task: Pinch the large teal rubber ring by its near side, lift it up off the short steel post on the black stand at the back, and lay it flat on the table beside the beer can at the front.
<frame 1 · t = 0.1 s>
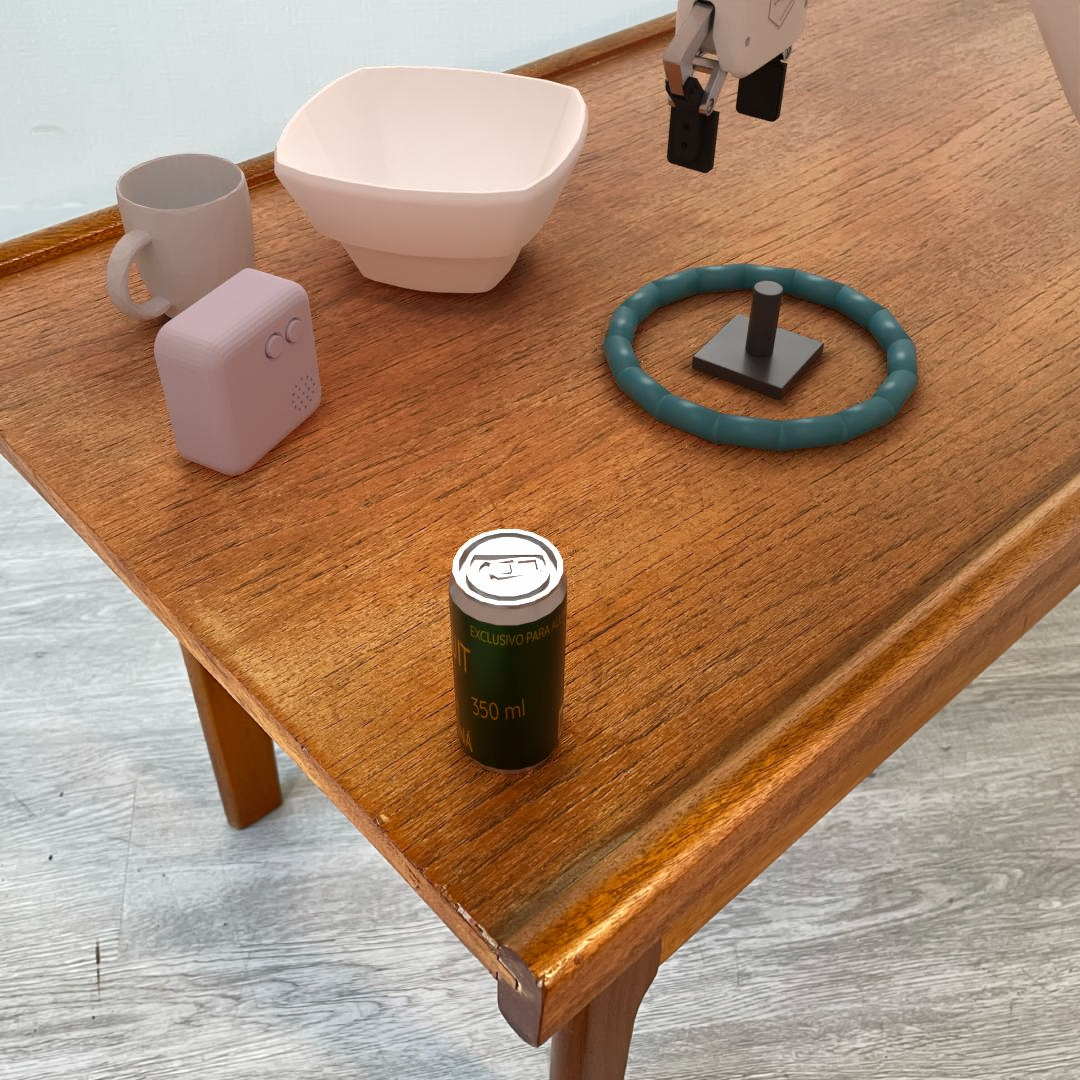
hand: (724, 140, 82), 14 cm above the table, tool pointing down, fingers open, 9 cm apart
mug: (189, 316, 91), on the table
electronic device: (260, 439, 80), on the table
post: (757, 361, 87), on the table
bowl: (443, 266, 97), on the table
beer can: (510, 738, 62), on the table
ring: (759, 349, 86), point 1 cm above the table
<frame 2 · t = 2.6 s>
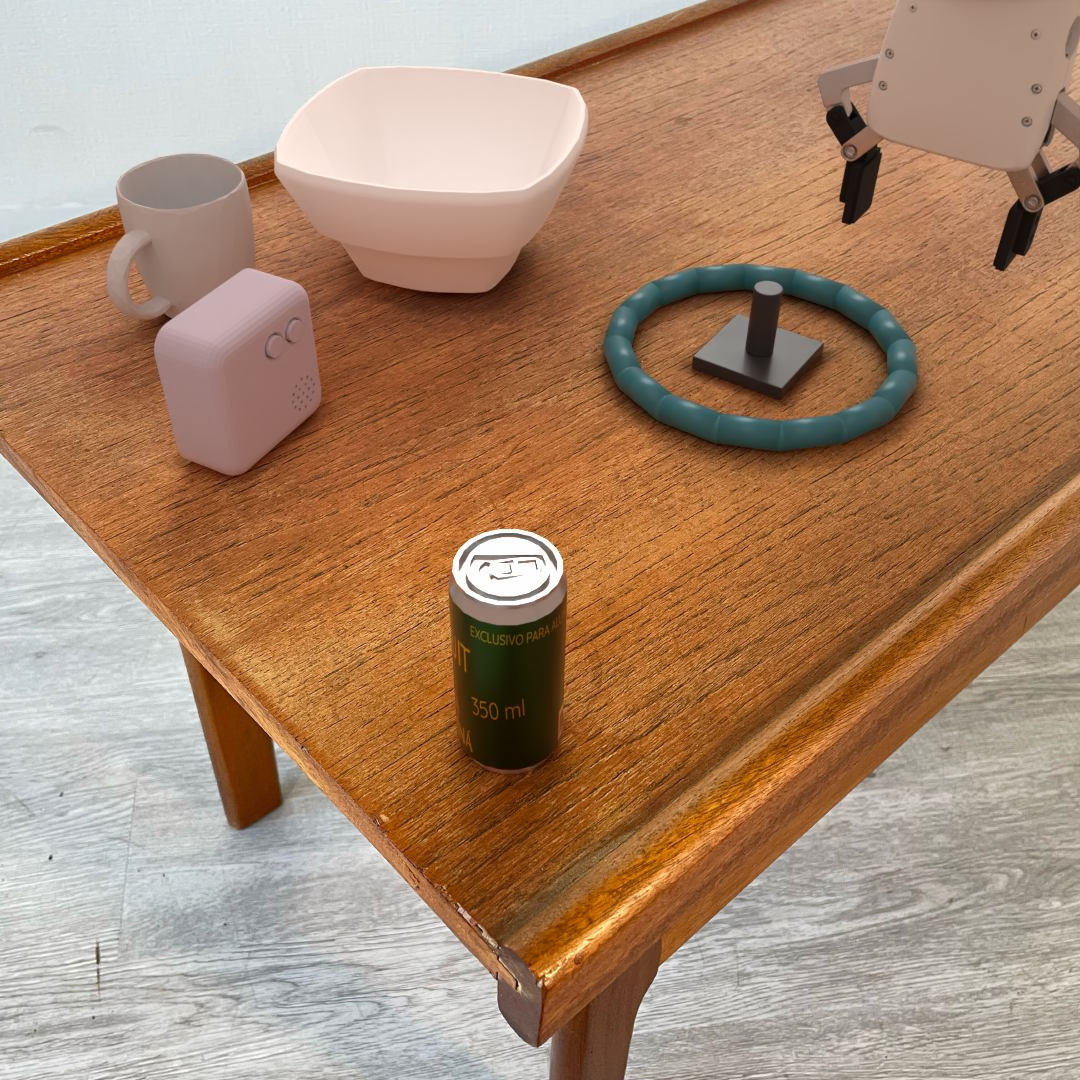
hand: (928, 237, 74), 13 cm above the table, tool pointing down, fingers open, 9 cm apart
nothing on the table moved.
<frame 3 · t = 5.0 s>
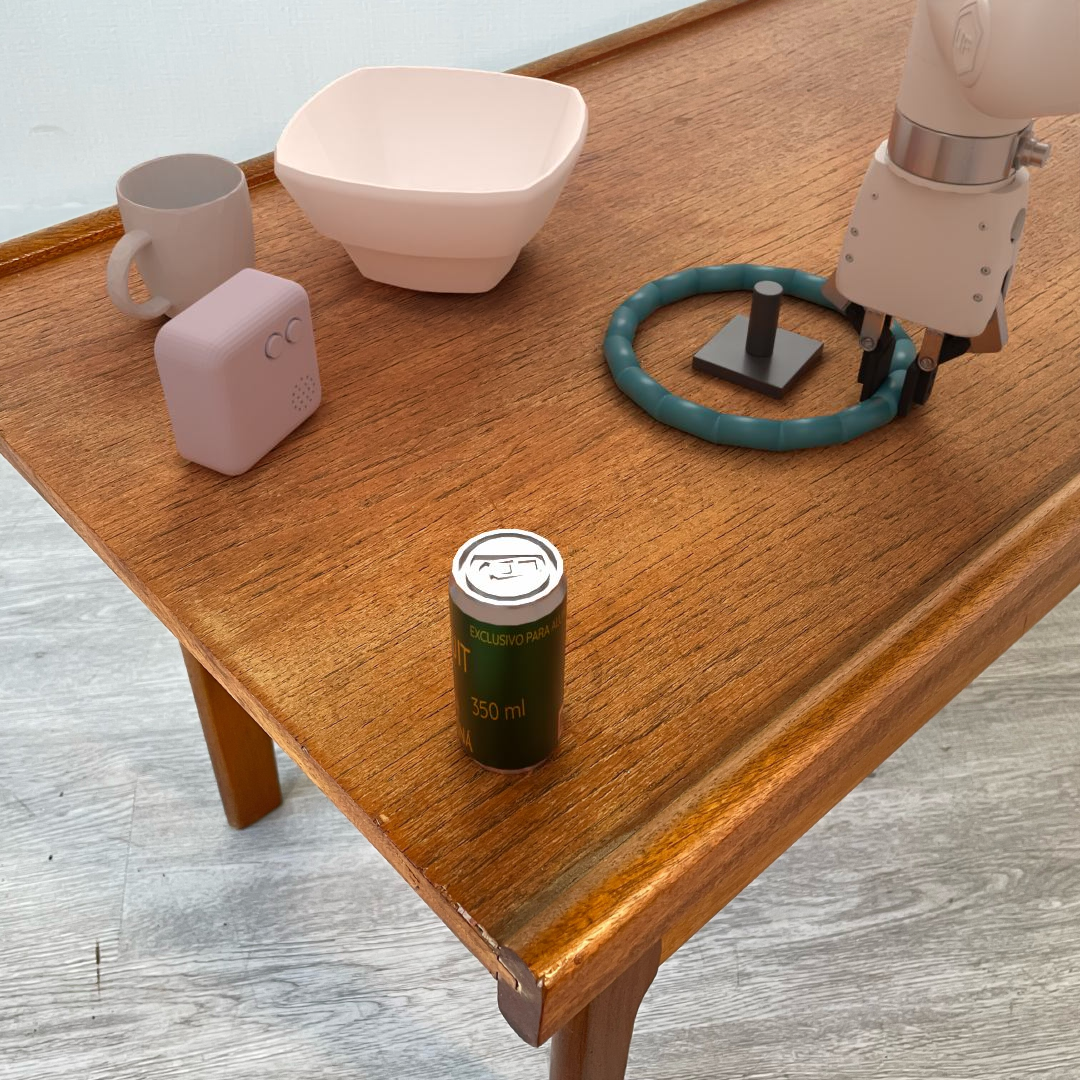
hand: (890, 399, 82), 1 cm above the table, tool pointing down, fingers closed on ring, 2 cm apart
ring: (759, 349, 86), point 1 cm above the table, touching gripper
everything else where it was.
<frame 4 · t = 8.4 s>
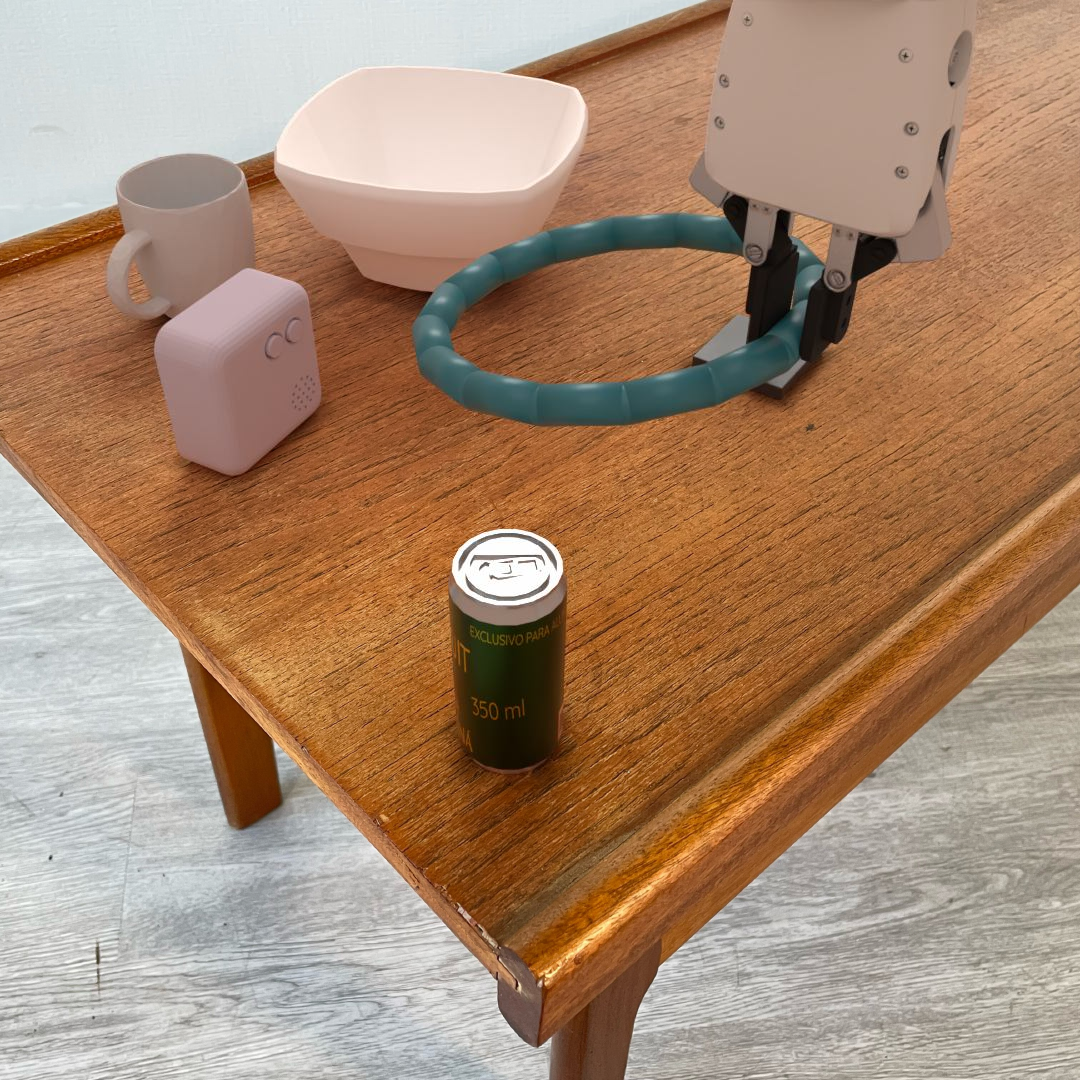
hand: (793, 337, 58), 17 cm above the table, tool pointing down, fingers closed on ring, 2 cm apart
ring: (619, 307, 64), point 15 cm above the table, tilted 11°, touching gripper
everything else where it was.
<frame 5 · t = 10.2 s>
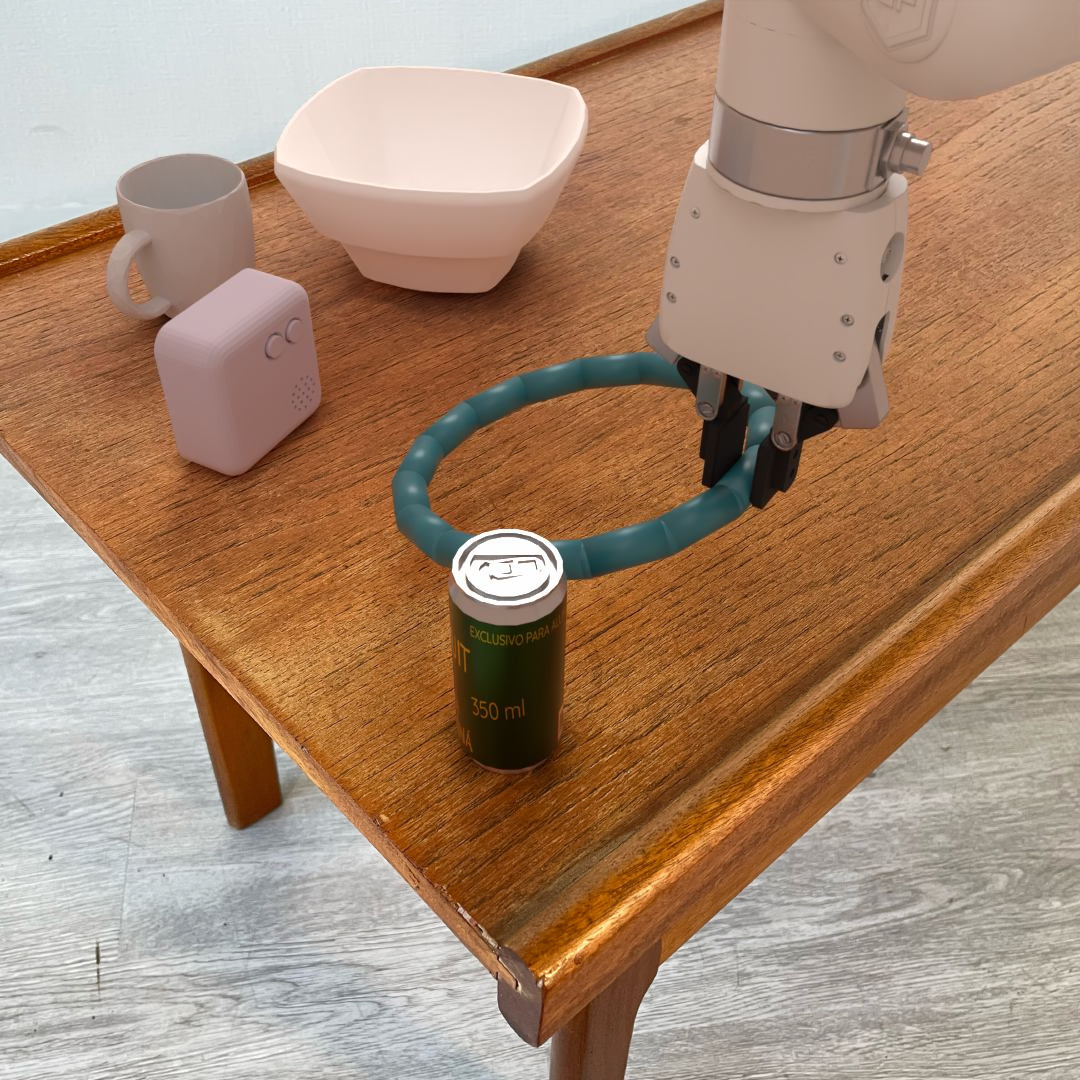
hand: (744, 481, 62), 10 cm above the table, tool pointing down, fingers closed on ring, 2 cm apart
ring: (584, 454, 67), point 7 cm above the table, tilted 15°, touching gripper
everything else where it was.
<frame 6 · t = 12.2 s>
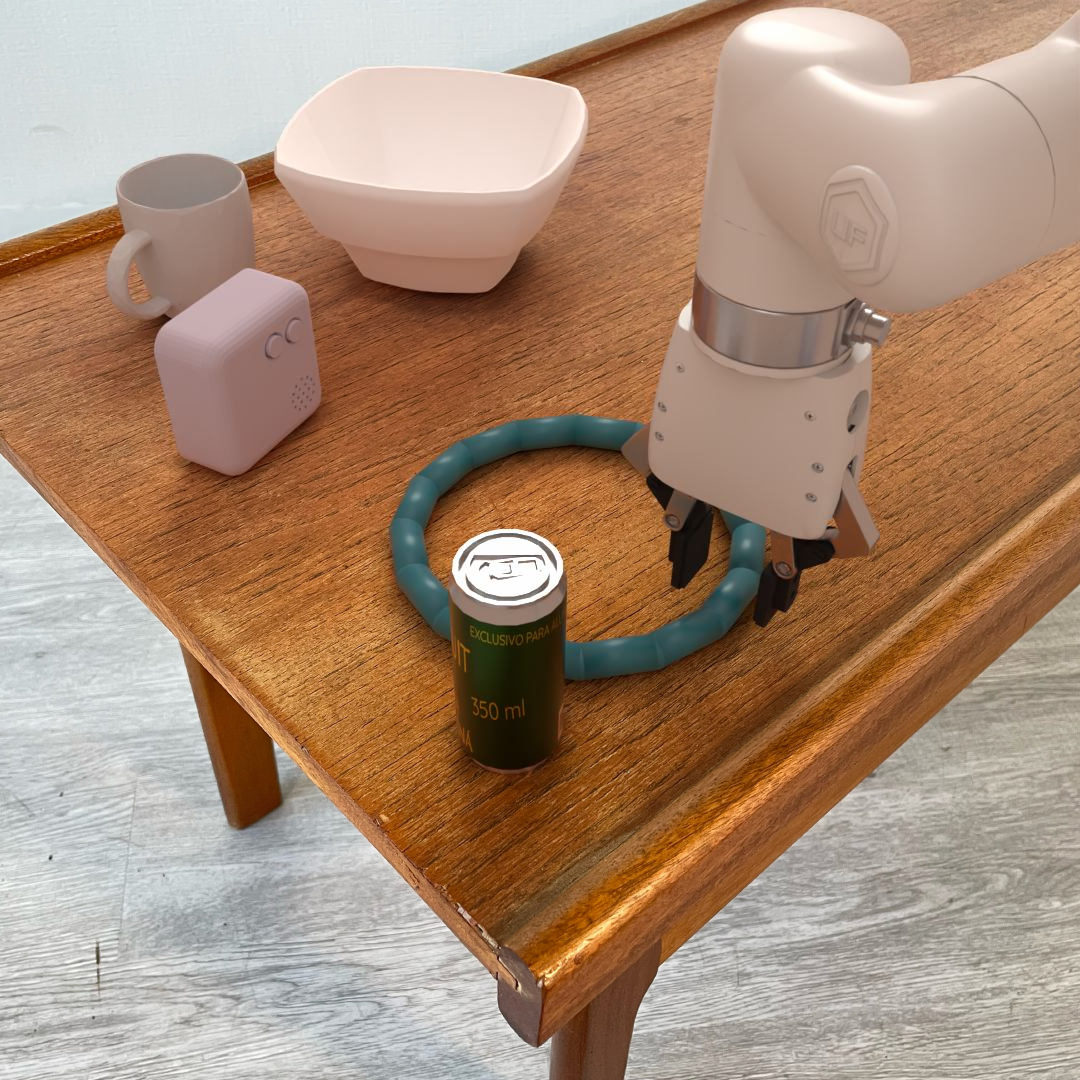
hand: (729, 589, 67), 2 cm above the table, tool pointing down, fingers open, 4 cm apart
ring: (577, 533, 72), point 1 cm above the table
everything else where it was.
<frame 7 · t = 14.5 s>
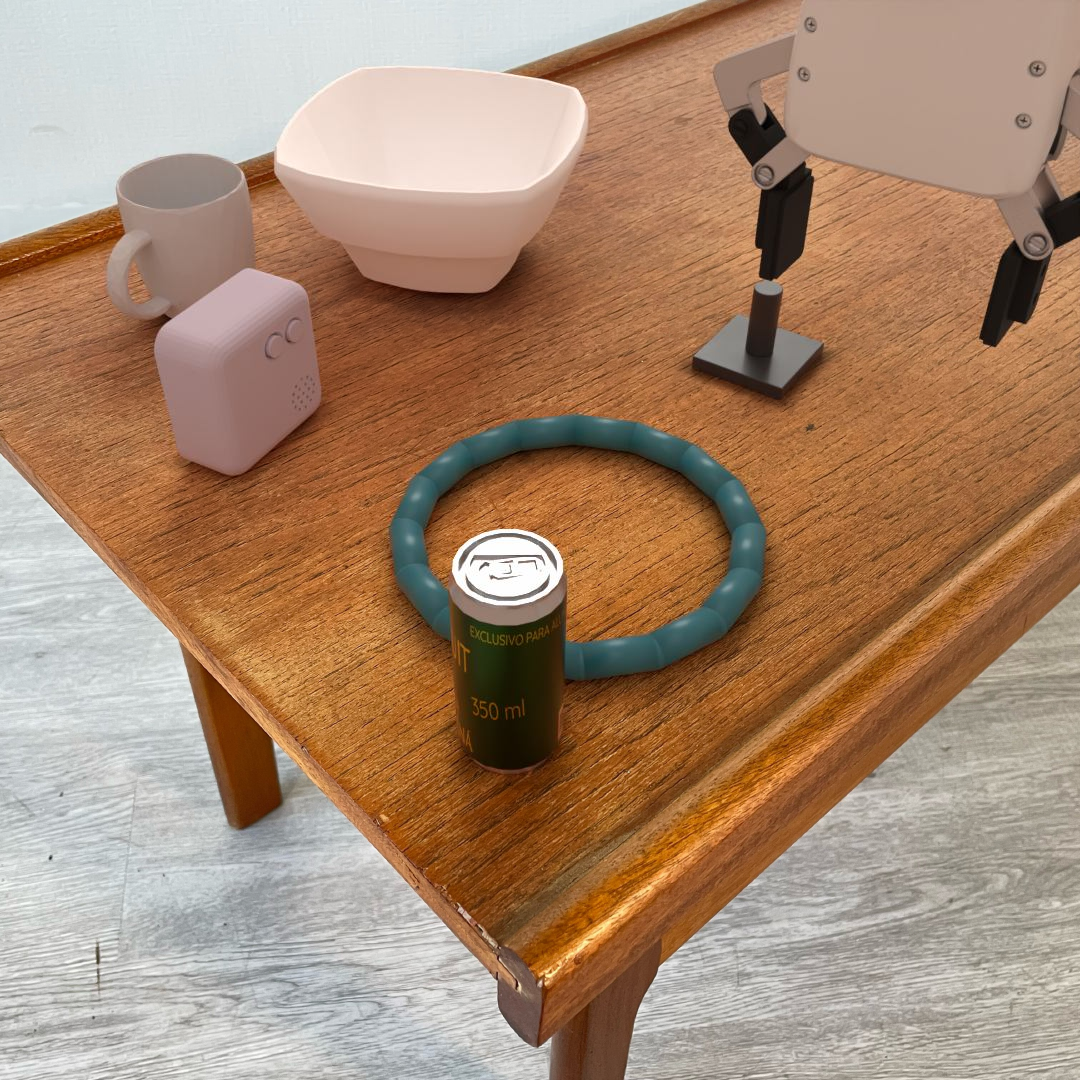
hand: (885, 297, 51), 22 cm above the table, tool pointing down, fingers open, 9 cm apart
nothing on the table moved.
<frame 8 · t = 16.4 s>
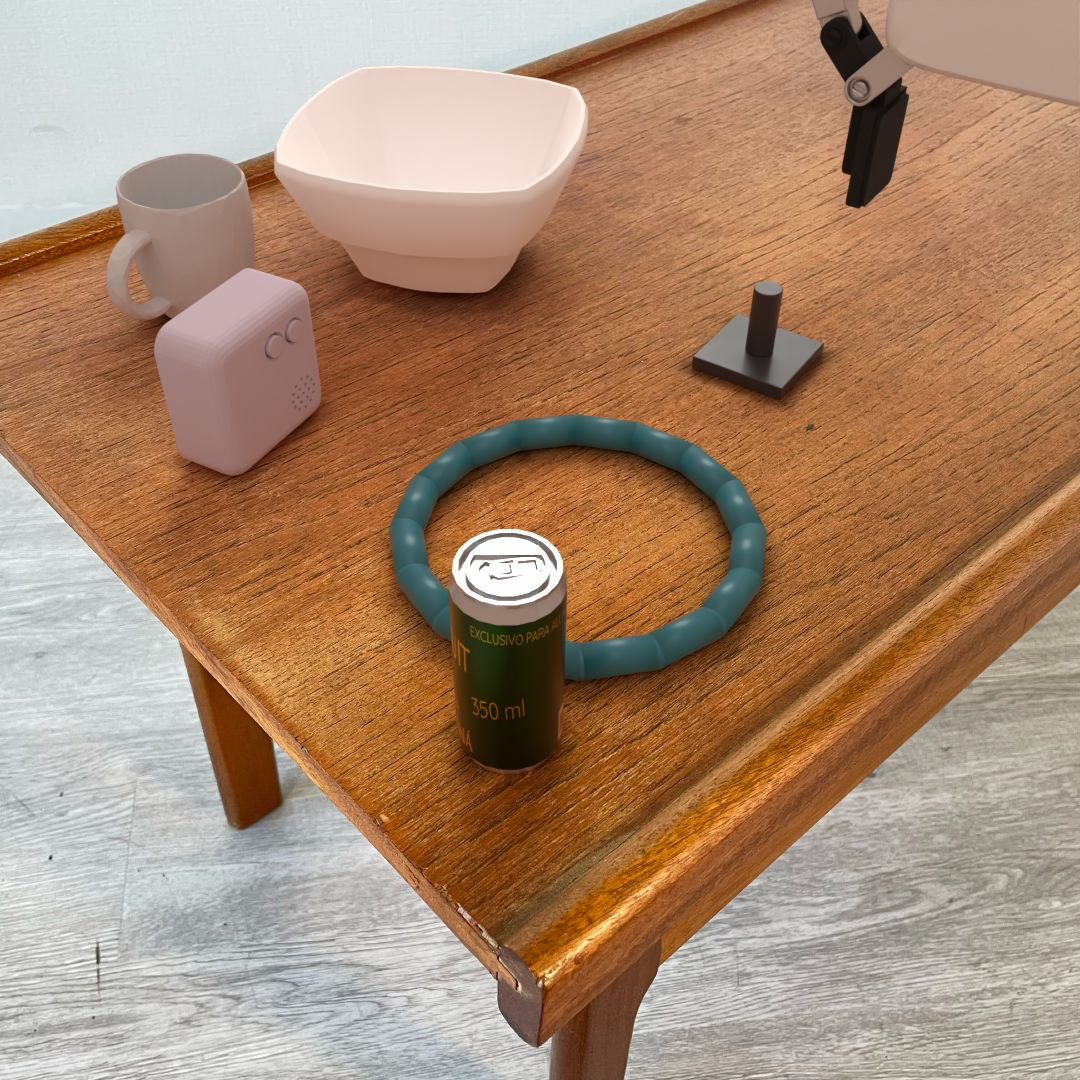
hand: (983, 228, 47), 26 cm above the table, tool pointing down, fingers open, 9 cm apart
nothing on the table moved.
at the end: ring inside the target area on the table beside the beer can (0.0 cm from its centre), point 1.2 cm above the table; ring tilted 0°; ring touching table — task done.
